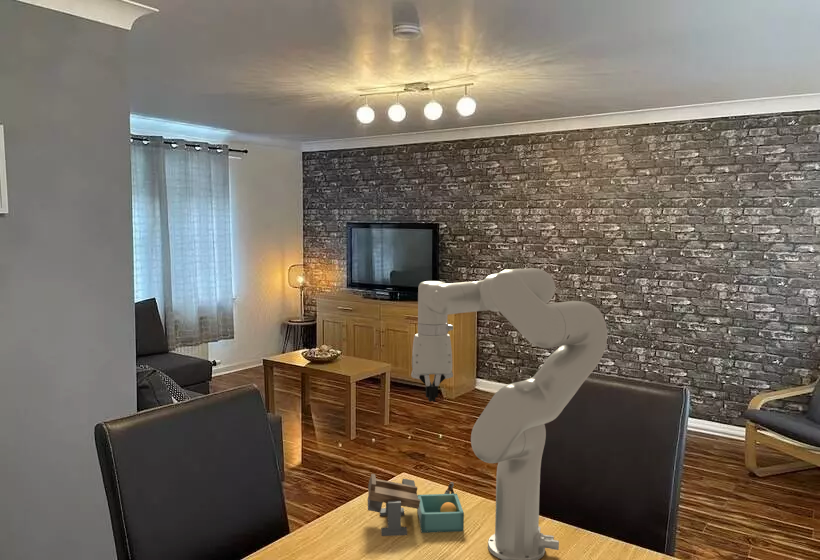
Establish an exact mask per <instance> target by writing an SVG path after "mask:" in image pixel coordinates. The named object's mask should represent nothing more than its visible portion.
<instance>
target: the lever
mask: <svg viewBox="0 0 820 560" xmlns="http://www.w3.org/2000/svg"><path fill="white" fill-rule="evenodd" d="M367 487H368V489H367V490H368V493H367V494H368V496H367V511H371V512H375V513H380V512H381V508H383V503H385V504H386V503H388V501H401V507H406V508H412V509H416V510H417V509H418V508H419V504H420V499H418V496H417V495H418V486H416V483H415V480H413V479H408V478H402V480H401V483H399V482H394V481H389V480H384V479H378V478H376V473H371V474H370V478H369V481H368V486H367Z"/></svg>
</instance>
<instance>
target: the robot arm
mask: <svg viewBox="0 0 820 560" xmlns="http://www.w3.org/2000/svg"><path fill="white" fill-rule="evenodd" d="M417 290H418V292H417V333H416V334H414V335H413V336H414V338H413V342H412V355H411V356H412V357H411V368H412V370H411V374H410V376H411V378H412V379H416V380H420V381H421V382H422V383H423V384H424V385H425V398H426V399H428V402H436V401H437V400H436V399H437V398H438V397H439V386H440V384H441V383H443V381H444V380H447V379H451V378H453V377H454V373H453V349H452V340H451V336H450V334H449V333H448V332H449V331H453V330H454V325H453V324H449V323H448V315H454V314H455V315H457V314H464V313H474V312H482V311H483V312H484V311H491V312H493V313H494V312H495V313H497V312H499V313H500V314H501V315H502V316H503V317H504V318H505V319H506V320H507V321H508V322H509V323H510V324H511V325H512V327H513V328H515V329H516V330H517V332H519V333H520V334H521V335H522V336H523V338H525V340H527V341H528V342H529V343H530V344H532V345H534V346H535V347H538V348H541V349H542V348H543V349H550V348H556V347H558V348H556V349H555V351H554V352H552V353H551V354H550V355H549V356H548V357H547V359H545V361H544V362H543V364H542V366H541V367H540V369H538V371H537V372H536V373H535V374H534V375H533V376H532V377H530V378H528V379H525V380H520V381H515V382H513V383H512V382H511V383H508V384H506V385H504V386H502V387H501V388H500V389H499V390H497V391H496V392H495V393H494V394H493V396H492V397H491V399H490V400H489V402H488V403H487V405H486V406H485V407H484V409H483V411H482V412H481V414H480V415H479V416H478V418H477V420H476V421H475V423H474V425H473V426H472V429H471V435H470V444H471V449H472V451H473V453H474V455H475V456H476V457H477V458H478V459H479V460H481V461H482V462H484V463H487V464H497V467H496V477H495V478H496V479H495V481H496V483H495V525H494V526H495V528H494V529H495V530H494V533H493V534H491V536H490V537H489V538H488V540H487V549H488V551H489V552H490V553H491V554H492V555H493V556H494V557H496V558H497V559H500V560H540V559H542V558H543V556H545V554H546V549H550V550H556V551H559V547H560V542H559V540H557V539H554V538H555V536H554V535H551V534H544V533H543V532H541V526H539V523H540V522H539V519H540V518H539V517H540V490H541V489H540V485H541V468H542V460H543V459H542V457H543V454H544V448H545V445H546V438H547V430H546V424H549V423H550V422H552V421H554V420H556V419H557V418H558V417H559V416H560V414H561V413H562V412H563V410H564V408H565V407H566V406H567V405H568V404H569V402H570V401H571V400H572V399H573V397H574V396H575V394H576V393H577V392H578V391H579V389H580V388H581V386H582V385H583V384H584V382H585V381H586V380H587V379H588V377H589V376H590V375H591V374H592V372H594V370H595V369H596V367H597V366H598V365H599V363H600V361H601V359H602V357H603V356H604V353H605V350H606V348H607V342H608V327H607V323H606V321H605V320H606V319H605V318H604V315H603V314H602V312H601V310H600V309H599V308H598V307H597V306H595V305H593V304H591V302H590V303H589V302H586V301H581V300H570V301H569V300H568V301H559V302H553V303H550V301H552V299H553V297H554V295H555V293H556V283H555V280H554V279H553V277H552V275H551V274H550V273H548V272H547V271H546V270H544V269H541V268H536V267H534V268H532V267H529V268H528V267H527V268H514V269H513V268H511V269H504V270H502V271H499V272H498V273H492V274H489V275H488V276H486V277H485V278H483V280H476V281H462V282H453V283H452V282H451V283H446V282H444V281H439V280H426V281H421V282H420V283H419V284H418V289H417ZM430 375H433V381H431V380H430Z"/></svg>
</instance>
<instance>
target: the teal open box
mask: <svg viewBox="0 0 820 560" xmlns="http://www.w3.org/2000/svg"><path fill="white" fill-rule="evenodd" d="M417 496H418V499H420V504H419V508H418V509H416V512H417V513H416V514H417V518H418V523H419V528H420V532H421V534H426V533H451V532H452V533H454V532H456V533H457V532H459V533H460V532H464V530H465V529H464V528H465V527H464V523H465V521H464V519H465V513H464V509H463V507H462V504H461V501H460V499H459V496H458V493H454V494H451V493H450V494H444V493H440V494H439V493H438V494H437V493H434V494H431V493H430V494H428V493H427V494H417ZM446 502H451V503H453V504H454V505H455V506H456V509H457V512H440V509H441V506H442V505H443V504H444V503H446Z"/></svg>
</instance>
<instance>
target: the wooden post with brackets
mask: <svg viewBox="0 0 820 560" xmlns="http://www.w3.org/2000/svg"><path fill="white" fill-rule="evenodd" d="M454 487H455V485H454V482H453V481H451V482H449V484H448V487H447V489H446V490H445V491H444V493H443V494H455V491H454Z"/></svg>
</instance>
